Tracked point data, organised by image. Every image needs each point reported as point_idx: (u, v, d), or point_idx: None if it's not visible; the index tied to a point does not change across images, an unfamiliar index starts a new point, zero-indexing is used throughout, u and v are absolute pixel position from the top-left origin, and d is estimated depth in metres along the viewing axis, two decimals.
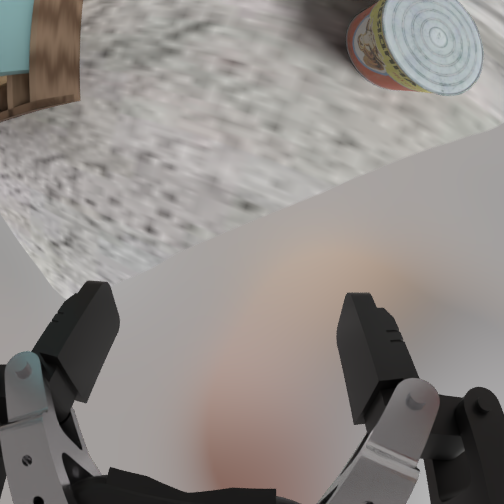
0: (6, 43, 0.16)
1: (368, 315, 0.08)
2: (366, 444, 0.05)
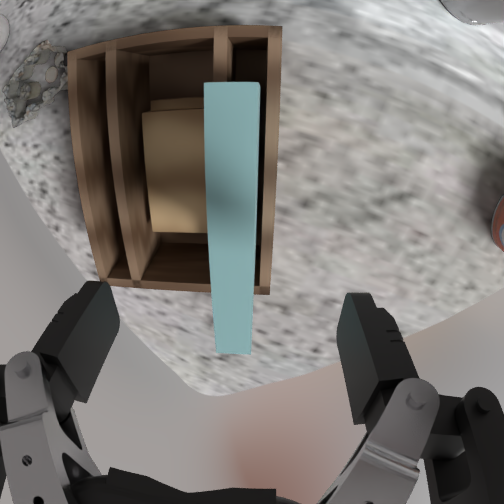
0: None
1: (368, 315, 0.08)
2: (366, 444, 0.05)
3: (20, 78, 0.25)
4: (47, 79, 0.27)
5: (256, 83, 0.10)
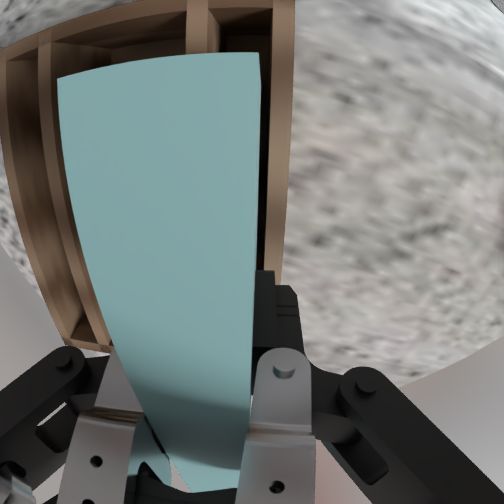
0: None
1: (263, 289, 0.09)
2: (249, 427, 0.05)
3: None
4: None
5: (250, 58, 0.02)
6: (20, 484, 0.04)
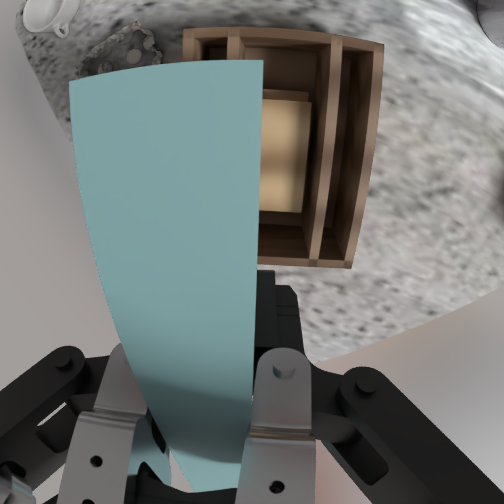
0: None
1: (263, 289, 0.09)
2: (249, 427, 0.05)
3: (99, 55, 0.28)
4: (129, 60, 0.30)
5: (256, 65, 0.02)
6: (20, 484, 0.04)
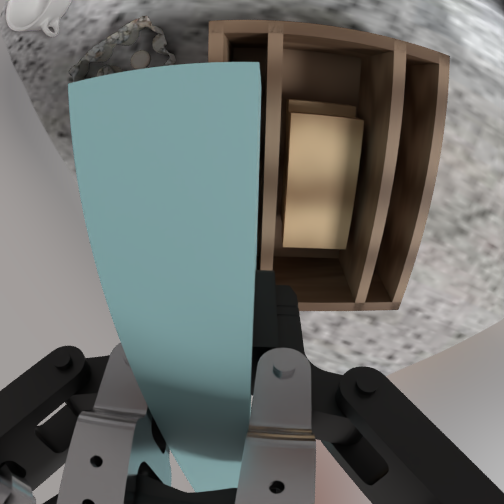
0: None
1: (263, 289, 0.09)
2: (249, 427, 0.05)
3: (98, 59, 0.23)
4: (134, 65, 0.25)
5: (251, 67, 0.02)
6: (20, 484, 0.04)
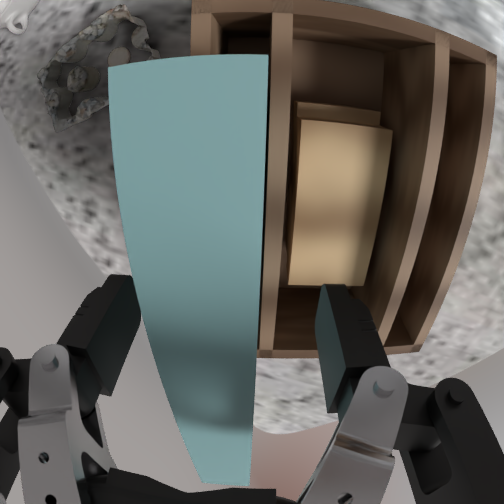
0: None
1: (341, 305, 0.09)
2: (336, 436, 0.05)
3: (69, 59, 0.18)
4: (111, 64, 0.20)
5: (262, 58, 0.03)
6: None
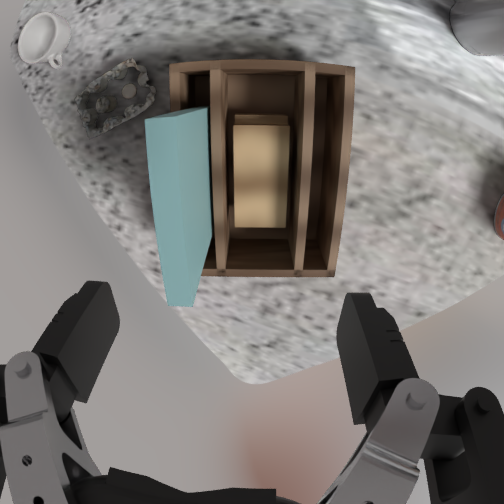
0: (205, 223, 0.29)
1: (368, 315, 0.08)
2: (366, 444, 0.05)
3: (97, 90, 0.32)
4: (124, 95, 0.34)
5: (175, 117, 0.17)
6: None
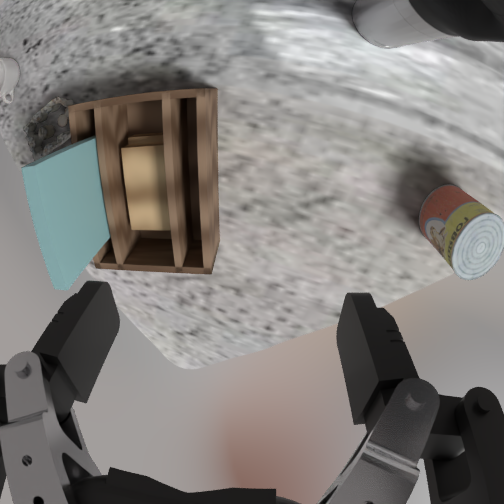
0: (93, 229, 0.35)
1: (368, 315, 0.08)
2: (366, 444, 0.05)
3: (38, 122, 0.37)
4: (59, 123, 0.39)
5: (34, 166, 0.22)
6: None
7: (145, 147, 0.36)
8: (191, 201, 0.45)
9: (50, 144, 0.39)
